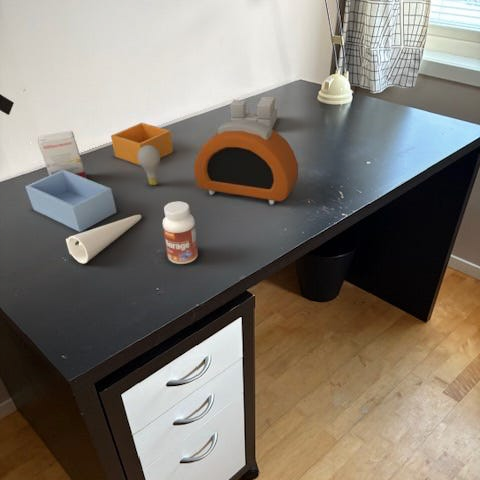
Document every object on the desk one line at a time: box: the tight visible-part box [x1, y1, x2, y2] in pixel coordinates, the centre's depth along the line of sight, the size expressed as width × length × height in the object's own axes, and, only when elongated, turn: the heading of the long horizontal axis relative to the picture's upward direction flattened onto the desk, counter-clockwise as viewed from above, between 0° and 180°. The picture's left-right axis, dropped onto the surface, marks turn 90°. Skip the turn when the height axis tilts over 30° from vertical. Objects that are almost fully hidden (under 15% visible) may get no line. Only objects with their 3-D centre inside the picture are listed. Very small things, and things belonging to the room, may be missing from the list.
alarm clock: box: [193, 120, 299, 205], centre depth 110 cm, size 23×9×17 cm, turn 68°
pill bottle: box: [162, 200, 199, 265], centre depth 93 cm, size 6×6×11 cm
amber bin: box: [110, 122, 174, 166], centre depth 133 cm, size 12×12×6 cm
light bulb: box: [137, 145, 161, 186], centre depth 117 cm, size 6×6×10 cm
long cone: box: [65, 214, 142, 265], centre depth 100 cm, size 6×6×19 cm
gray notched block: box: [230, 96, 278, 130], centre depth 146 cm, size 12×12×8 cm
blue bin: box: [24, 170, 117, 233], centre depth 110 cm, size 18×11×6 cm, turn 52°
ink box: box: [37, 130, 87, 179], centre depth 120 cm, size 9×5×12 cm, turn 110°
